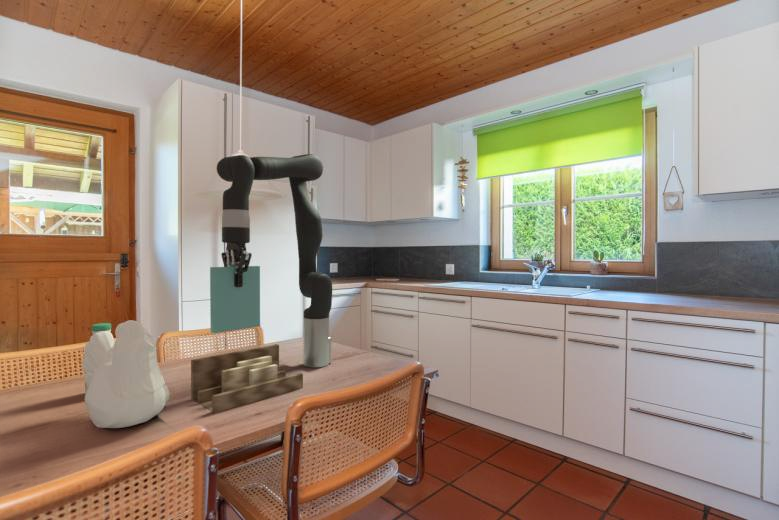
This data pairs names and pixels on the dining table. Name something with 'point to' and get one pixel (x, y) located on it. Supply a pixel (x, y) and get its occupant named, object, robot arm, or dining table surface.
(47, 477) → the dining table surface
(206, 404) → the walnut rack
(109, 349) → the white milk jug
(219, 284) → the teal panel
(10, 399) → the dining table surface
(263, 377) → the offcut stack
